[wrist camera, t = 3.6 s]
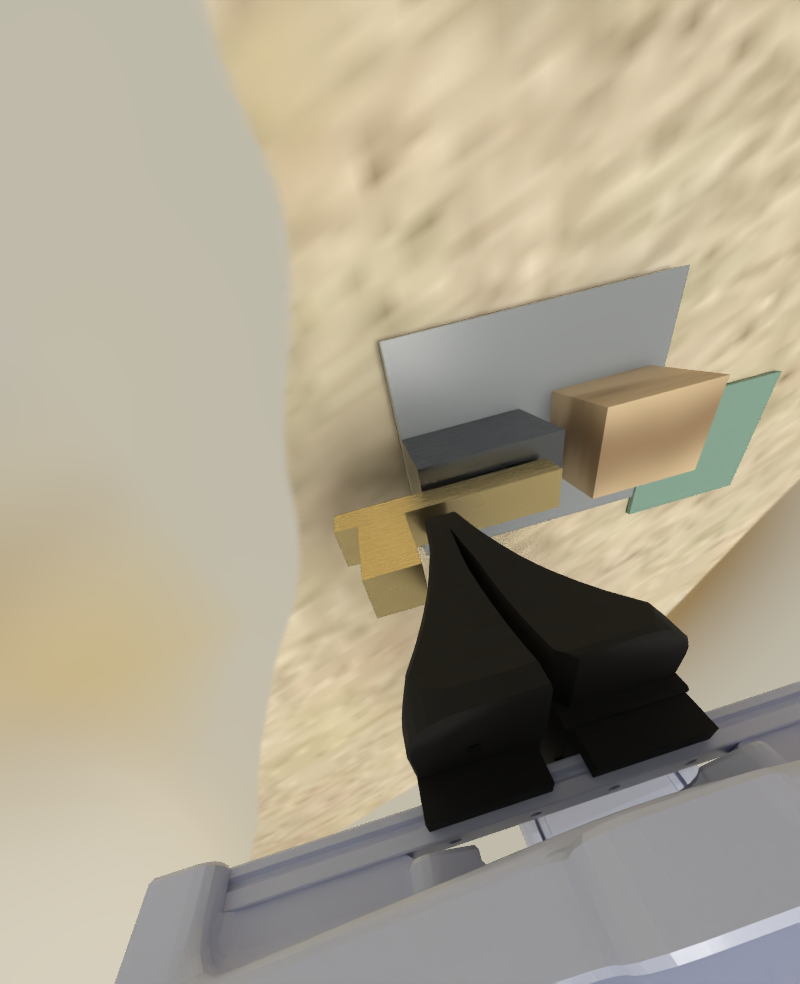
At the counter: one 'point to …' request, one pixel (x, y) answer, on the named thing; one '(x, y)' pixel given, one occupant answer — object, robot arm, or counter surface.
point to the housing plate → (520, 381)
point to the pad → (715, 445)
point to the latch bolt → (400, 523)
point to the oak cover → (635, 426)
